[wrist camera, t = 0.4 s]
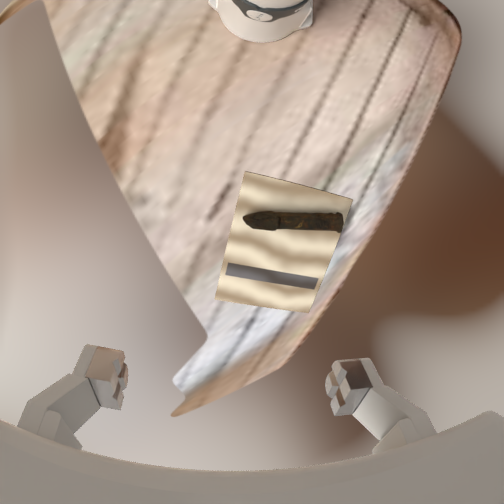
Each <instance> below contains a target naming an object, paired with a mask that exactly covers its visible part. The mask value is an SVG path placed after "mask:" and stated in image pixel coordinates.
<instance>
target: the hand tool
mask: <svg viewBox="0 0 504 504" xmlns="http://www.w3.org/2000/svg"><path fill="white" fill-rule="evenodd" d="M243 221H244V222H245V223H246V225H248V226H250V227H251V228H252V229H259V230H268V231H276V230H277V229H290V230H315V231H336V232H337V233H341V231H342V228H343V225H344V221H343V214H342V213H339V212H337V213H335V214H334V213H328V214H327V213H307V212H304V213H294V212H273V211H262V212H257V213H252V214H249V215H245V216H243Z"/></svg>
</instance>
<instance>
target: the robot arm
mask: <svg viewBox="0 0 504 504" xmlns="http://www.w3.org/2000/svg"><path fill="white" fill-rule="evenodd" d="M208 3H209V5H210V6H211V7H212V8H213V9H215V10H216V11H217V12H218V13H219V15H220V18H221V20H222V22H223V24H224V25H225V26H226V28H227V29H228V30H229V31H230V32H232V33H233V34H234V35H236V36H238V37H240V38H242V39H245V40H248V41H252V42H259V43H266V42H273V41H277V40H280V39H282V38H284V37H286V36H288V35H289V34H291V33H292V32H294V31H296V30H301V29H305V28H308V27H310V26H311V24H312V17H313V0H208ZM124 359H125V355H124V352H123V351H120V350H115V349H110V348H105V347H100V346H94V345H89V344H87V345H86V346H84V348H83V350H82V353H81V355H80V357H79V359H78V362H77V364H76V366H75V368H74V371H73V373H72V374H67V375H66V376H65V377H63V378H62V379H60V380H59V381H57V382H56V383H54V384H53V385H51V386H50V387H48V388H47V389H45V390H44V391H42V392H41V393H39V394H38V395H36V396H35V397H33V398H32V399H30V400H29V401H28V402H27V404H26V406H25V409H24V411H23V413H22V416H21V418H20V421H19V423H18V426H15V425H12V424H10V423H8V422H6V421H4V420H2V419H0V504H504V417H502V416H501V415H499V414H497V413H495V412H493V411H487V412H484V413H482V414H480V415H478V416H476V417H474V418H472V419H470V420H468V421H466V422H463V423H461V424H459V425H457V426H454V427H452V428H450V429H447V430H445V431H442V432H440V433H436V431H435V429H434V427H433V425H432V423H431V421H430V419H429V417H428V415H427V413H426V412H425V411H423V410H422V409H421V408H419V407H418V406H416V405H415V404H413V403H412V402H410V401H409V400H407V399H406V398H404V397H403V396H402V395H400V394H399V393H397V392H396V391H394V390H393V389H391V388H390V387H388V386H384V384H383V382H382V381H381V378H380V377H379V375H378V373H377V371H376V369H375V367H374V365H373V363H372V361H371V360H370V359H369V358H362V359H349V360H336V361H335V362H334V363H333V365H332V369H333V371H331V372H330V373H329V374H328V376H327V378H326V384H325V386H326V392H327V395H328V396H329V397H331V398H332V401H331V403H330V404H331V407H332V410H333V413H334V416H340V415H348V414H353V416H354V417H355V418H356V419H357V420H358V421H359V422H360V423H361V424H363V425H364V426H365V427H366V428H367V429H368V430H369V431H370V432H371V433H372V434H373V435H374V436H375V437H376V438H377V439H378V440H379V441H380V442H379V443H378V444H377V445H376V446H375V447H374V448H373V450H372V452H373V454H371V455H367V456H362V457H358V458H353V459H349V460H344V461H339V462H333V463H327V464H321V465H314V466H306V467H298V468H288V469H276V470H259V471H209V470H192V469H180V468H170V467H162V466H154V465H148V464H141V463H136V462H130V461H125V460H120V459H115V458H111V457H107V456H102V455H98V454H94V453H91V452H87V451H83V450H81V449H82V445H81V444H80V442H79V441H78V440H77V438H76V437H75V436H74V433H75V432H76V431H77V430H78V429H79V428H80V427H81V426H82V425H83V424H84V423H85V422H86V421H87V420H88V419H89V418H91V416H93V414H95V412H97V411H98V410H99V409H100V406H101V407H106V408H111V409H117V410H121V406H122V402H123V398H124V396H123V392H122V390H124V389H125V388H126V386H127V382H128V368H127V365H126V364H125V363H124Z"/></svg>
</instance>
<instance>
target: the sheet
mask: <svg viewBox="0 0 504 504" xmlns="http://www.w3.org/2000/svg"><path fill="white" fill-rule="evenodd" d="M352 201H353V200H352V199H349V198H345V197H342V196H339V195H335V194H332V193H328V192H325V191H321V190H317V189H314V188H310V187H306V186H303V185H299V184H295V183H291V182H287V181H283V180H279V179H275V178H271V177H267V176H263V175H258V174H254V173H250V172H245V173H244V177H243V181H242V185H241V189H240V193H239V197H238V201H237V205H236V209H235V214H234V218H233V222H232V226H231V230H230V234H229V239H228V243H227V247H226V251H225V256H224V260H223V264H222V269H221V273H220V277H219V282H218V286H217V291H216V295H215V300H222V301H228V302H234V303H240V304H247V305H254V306H260V307H267V308H274V309H282V310H289V311H297V312H305V313H309V310H310V308H311V306H312V304H313V301H314V299H315V297H316V294H317V292H318V289H319V287H320V285H321V282H322V280H323V277H324V275H325V272H326V270H327V267H328V265H329V262H330V260H331V257H332V255H333V252H334V250H335V247H336V244H337V242H338V239H339V237H340V234H341V233H337V232H336V231H315V230H290V229H277V230H276V231H268V230H259V229H252V228H251V227H250V226H248V225H246V223H245V222H244V221H243V216H245V215H249V214H252V213H257V212H262V211H273V212H294V213H304V212H307V213H327V214H328V213H334V214H335V213H337V212H339V213H342V214H343V221H344V223H345V220H346V218H347V215H348V212H349V209H350V206H351V203H352ZM343 226H344V225H343ZM342 229H343V228H342Z"/></svg>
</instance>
